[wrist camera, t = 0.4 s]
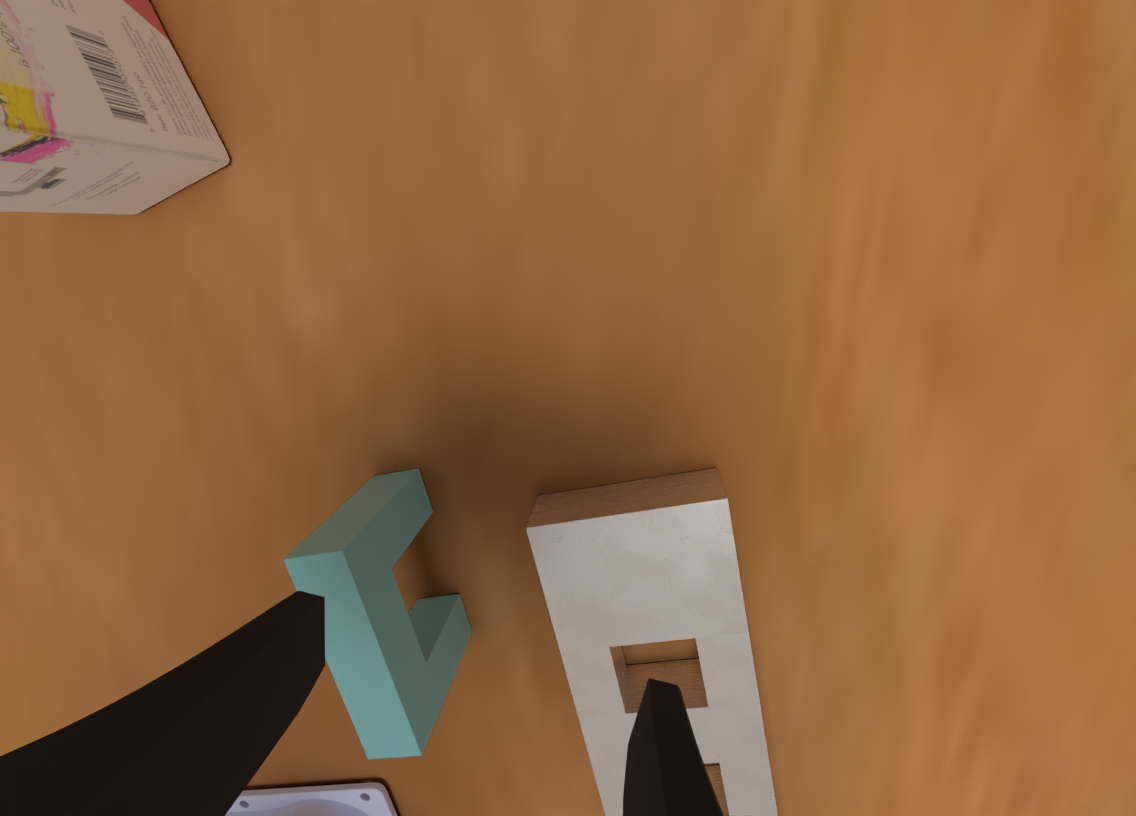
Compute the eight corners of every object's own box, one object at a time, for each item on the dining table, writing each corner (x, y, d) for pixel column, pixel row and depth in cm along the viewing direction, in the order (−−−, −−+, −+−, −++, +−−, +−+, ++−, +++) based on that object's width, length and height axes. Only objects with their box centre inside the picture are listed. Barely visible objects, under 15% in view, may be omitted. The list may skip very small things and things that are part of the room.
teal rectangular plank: (430, 636, 24) (368, 759, 19) (373, 476, 22) (283, 559, 16) (472, 632, 24) (421, 755, 18) (418, 468, 22) (342, 550, 16)
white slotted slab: (632, 853, 27) (632, 912, 25) (537, 495, 21) (525, 528, 19) (778, 848, 26) (792, 910, 23) (716, 467, 20) (727, 498, 18)
